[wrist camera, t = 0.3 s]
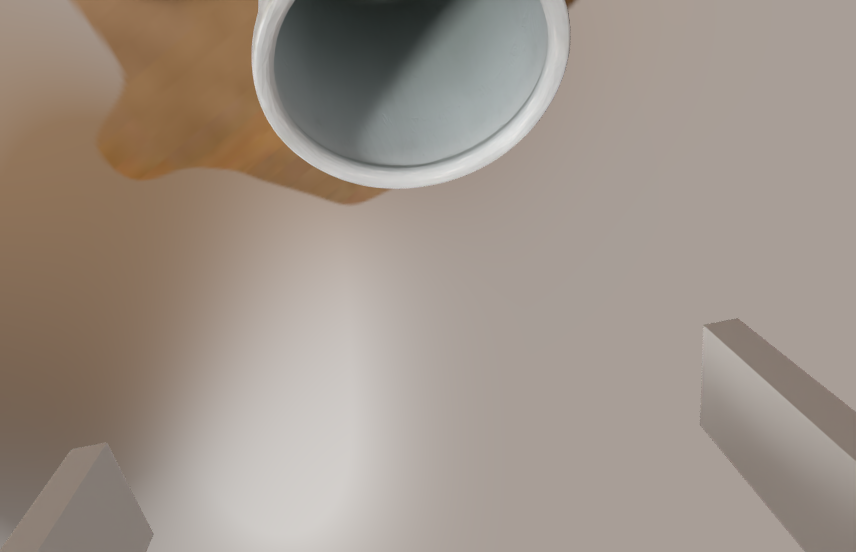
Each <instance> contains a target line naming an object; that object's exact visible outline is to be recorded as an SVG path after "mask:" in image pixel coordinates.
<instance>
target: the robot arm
mask: <svg viewBox="0 0 856 552" xmlns="http://www.w3.org/2000/svg"><path fill="white" fill-rule="evenodd" d="M702 355H703V356H702V386H701V413H700V426H701V427H702V428H703V429H704V430H705V432H706V433H707V434H708V435H709V436H710V438H711V439H712V440H713V441H714V443H715V444H716V445H717V446H718V447H719V449H720V450H721V451H722V452H723V453H724V455H725V456H726V457H727V458H728V459H729V461H730V462H731V463H732V464H733V465H734V467H735V468H736V469H737V470H738V472H739V473H740V474H741V475H742V476H743V477H744V479H745V480H746V481H747V482H748V484H749V485H750V486H751V487H752V488H753V490H754V491H755V492H756V493H757V494H758V496H759V497H760V498H761V499H762V501H763V502H764V503H765V504H766V505H767V507H768V508H769V509H770V510H771V511H772V513H773V514H774V515H775V516H776V517H777V519H778V520H779V521H780V522H781V523H782V525H783V526H784V527H785V528H786V530H787V531H788V532H789V533H790V534H791V535H792V537H793V538H794V539H795V540H796V542H797V543H798V544H799V545H800V546H801V548H802V549H803V550H804V551H805V552H856V412H855V411H854V410H853V409H851V408H850V407H849V406H848V405H846V404H845V403H844V402H843V401H841V400H840V399H839V398H838V397H836V396H835V395H834V394H832V393H831V392H830V391H829V390H827V389H826V388H825V387H824V386H822V385H821V384H820V383H819V382H817V381H816V380H815V379H813V378H812V377H811V376H810V375H809V374H807V373H806V372H805V371H803V370H802V369H801V368H800V367H798V366H797V365H796V364H795V363H793V362H792V361H791V360H790V359H788V358H787V357H786V356H784V355H783V354H782V353H781V352H780V351H778V350H777V349H776V348H775V347H773V346H772V345H771V344H769V343H768V342H767V341H766V340H764V339H763V338H762V337H761V336H759V335H758V334H757V333H756V332H754V331H753V330H752V329H751V328H749V327H748V326H747V325H746V324H744V323H743V322H742V321H740V320H739V319H738V318H737V319H732V320H726V321H722V322H717V323H711V324H706V325H704V326H703V354H702ZM152 537H153V532H152V530H151V528H150V526H149V524H148V522H147V520H146V518H145V516H144V514H143V512H142V511H141V508H140V506H139V504H138V502H137V501H136V499H135V497H134V495H133V493H132V491H131V489H130V487H129V485H128V483H127V481H126V479H125V477H124V475H123V473H122V471H121V469H120V467H119V465H118V463H117V461H116V459H115V457H114V456H113V454H112V451H111V450H110V448H109V446H108V444H107V443H102V444H96V445H91V446H86V447H81V448H76V449H72V450H71V451H70V452H69V454H68V455H67V456H66V458H65V459H64V461H63V462H62V463H61V465H60V466H59V468H58V469H57V470H56V472H55V473H54V475H53V476H52V478H51V479H50V480H49V482H48V483H47V485H46V486H45V488H44V489H43V490H42V492H41V493H40V495H39V496H38V497H37V499H36V500H35V501H34V503H33V504H32V506H31V507H30V508H29V510H28V511H27V513H26V514H25V516H24V517H23V518H22V520H21V521H20V523H19V524H18V526H17V527H16V528H15V530H14V531H13V532H12V534H11V535H10V537H9V538H8V540H7V541H6V542H5V544H4V545H3V547H2V548H1V550H0V552H146V551H147V548H148V546H149V544H150V541H151V539H152Z"/></svg>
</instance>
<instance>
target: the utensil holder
mask: <svg viewBox="0 0 856 552" xmlns="http://www.w3.org/2000/svg"><path fill="white" fill-rule="evenodd" d="M258 8H259V12H258V15H257V19H256V23H255V27H254V33H253V40H252V71H253V78H254V84H255V89H256V93H257V97H258V100H259V102H260V105H261V107H262V110H263V112H264V114H265V116H266V118H267V119H268V121H269V123H270V125H271V126H272V128H273V129H274V131H275V132H276V133H277V135H278V136H279V137H280V138H281V139H282V141H283V142H284V143H285V144H286V145H287V146H288V147H289V148H290V149H291V150H292V151H294V152H295V153H296V154H297V155H298V156H300V157H301V158H302V159H304V160H305V161H306V162H308V163H309V164H311V165H313V166H314V167H316V168H318V169H319V170H321V171H323V172H325V173H327V174H329V175H331V176H334V177H336V178H339V179H342V180H345V181H348V182H351V183H355V184H359V185H364V186H369V187H378V188H394V189H401V188H417V187H425V186H429V185H435V184H440V183H444V182H447V181H451V180H454V179H457V178H459V177H462V176H465V175H468V174H470V173H472V172H474V171H477V170H478V169H480V168H482V167H484V166H486V165H488V164H490V163H491V162H493V161H495V160H496V159H498V158H499V157H501V156H502V155H504V154H505V153H506V152H508V151H509V150H510V149H511V148H513V147H514V146H515V145H516V144H517V143H518V142H519V141H520V140H522V139H523V138H524V137H525V136H526V135H527V134H528V133H529V132H530V131H531V130H532V128H533V127H534V126H535V125H536V124H537V122H538V121H539V120H540V118H541V117H542V116H543V114H544V113H545V112H546V110H547V108H548V107H549V105H550V103H551V102H552V100H553V98H554V96H555V94H556V92H557V90H558V88H559V86H560V83H561V81H562V78H563V75H564V72H565V69H566V65H567V61H568V56H569V51H570V20H569V13H568V8H567V5H566V2H565V0H259V6H258Z"/></svg>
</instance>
